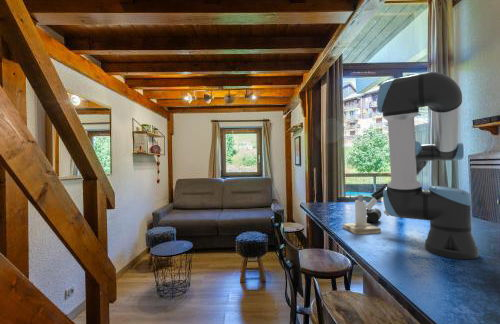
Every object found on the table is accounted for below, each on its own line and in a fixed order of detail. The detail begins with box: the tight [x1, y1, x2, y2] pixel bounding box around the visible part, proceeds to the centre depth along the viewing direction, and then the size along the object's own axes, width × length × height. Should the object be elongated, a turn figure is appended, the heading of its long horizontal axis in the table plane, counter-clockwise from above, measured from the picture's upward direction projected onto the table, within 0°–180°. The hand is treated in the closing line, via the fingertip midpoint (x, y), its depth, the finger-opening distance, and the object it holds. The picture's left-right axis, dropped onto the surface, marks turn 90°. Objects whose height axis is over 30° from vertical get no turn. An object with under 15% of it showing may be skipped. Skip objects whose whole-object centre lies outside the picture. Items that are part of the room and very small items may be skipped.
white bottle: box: [354, 194, 367, 227], centre depth 119 cm, size 5×5×15 cm
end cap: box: [366, 208, 382, 225], centre depth 134 cm, size 10×7×7 cm
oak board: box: [342, 222, 382, 235], centre depth 119 cm, size 12×12×2 cm
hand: (376, 211), depth 121 cm, fingers open, 13 cm apart
